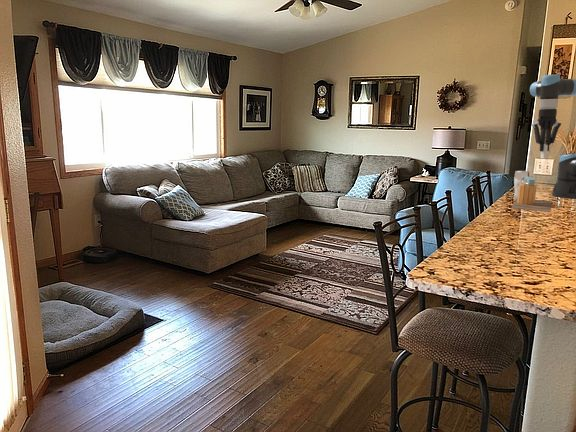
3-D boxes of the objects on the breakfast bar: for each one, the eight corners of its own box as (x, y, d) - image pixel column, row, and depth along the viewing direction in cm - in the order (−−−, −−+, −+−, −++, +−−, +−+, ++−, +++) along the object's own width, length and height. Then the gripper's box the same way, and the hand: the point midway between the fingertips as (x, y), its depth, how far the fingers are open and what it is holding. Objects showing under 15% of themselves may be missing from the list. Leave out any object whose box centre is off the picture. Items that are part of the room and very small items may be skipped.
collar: (517, 201, 229) (519, 183, 227) (534, 202, 225) (536, 184, 223) (516, 203, 223) (518, 185, 221) (533, 205, 219) (536, 186, 217)
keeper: (525, 181, 231) (525, 176, 231) (532, 181, 230) (532, 176, 230) (527, 184, 219) (528, 179, 219) (535, 185, 218) (535, 179, 217)
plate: (516, 201, 237) (516, 198, 237) (551, 204, 229) (552, 201, 228) (510, 211, 212) (510, 208, 211) (549, 215, 204) (550, 211, 203)
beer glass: (523, 198, 244) (526, 170, 241) (529, 200, 238) (532, 172, 234) (510, 198, 245) (512, 170, 242) (515, 200, 238) (518, 172, 235)
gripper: (557, 108, 220) (552, 156, 225) (530, 109, 221) (526, 157, 226) (566, 108, 213) (561, 158, 218) (538, 109, 213) (533, 159, 219)
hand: (543, 158), depth 222 cm, fingers closed
